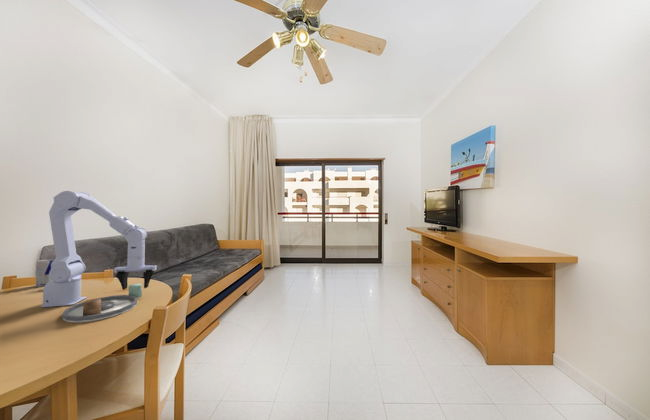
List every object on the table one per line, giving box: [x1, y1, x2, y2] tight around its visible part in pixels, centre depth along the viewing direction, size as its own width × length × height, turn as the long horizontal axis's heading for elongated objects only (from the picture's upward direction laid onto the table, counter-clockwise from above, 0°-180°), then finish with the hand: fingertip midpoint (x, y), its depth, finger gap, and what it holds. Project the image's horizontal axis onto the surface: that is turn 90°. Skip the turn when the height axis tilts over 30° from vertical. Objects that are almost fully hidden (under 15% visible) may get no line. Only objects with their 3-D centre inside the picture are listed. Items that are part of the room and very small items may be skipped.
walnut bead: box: [82, 297, 101, 316], centre depth 79 cm, size 4×4×5 cm
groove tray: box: [61, 294, 138, 324], centre depth 85 cm, size 20×20×2 cm
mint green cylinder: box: [128, 283, 143, 299], centre depth 98 cm, size 4×4×5 cm
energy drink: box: [35, 258, 55, 288], centre depth 109 cm, size 5×5×12 cm
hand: (135, 288), depth 98 cm, fingers open, 7 cm apart
